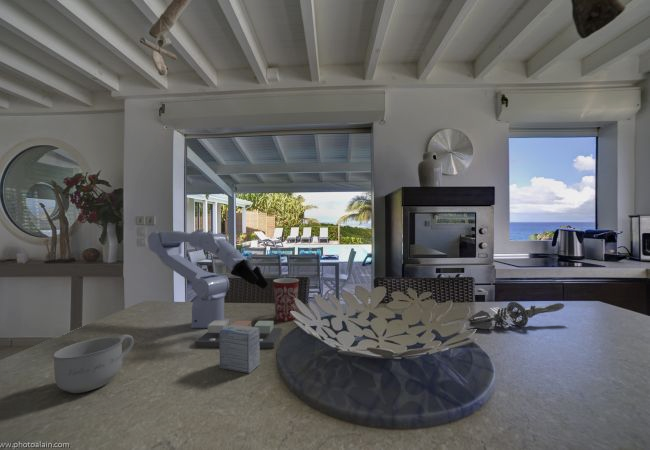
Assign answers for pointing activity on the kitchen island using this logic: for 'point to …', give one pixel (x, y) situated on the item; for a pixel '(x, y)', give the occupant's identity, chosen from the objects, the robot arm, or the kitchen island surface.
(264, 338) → the keypad
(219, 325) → the ivory key
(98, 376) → the teacup
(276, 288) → the mug
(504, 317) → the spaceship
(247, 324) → the terracotta key
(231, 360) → the grey layered block
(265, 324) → the sage key
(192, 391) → the kitchen island surface
